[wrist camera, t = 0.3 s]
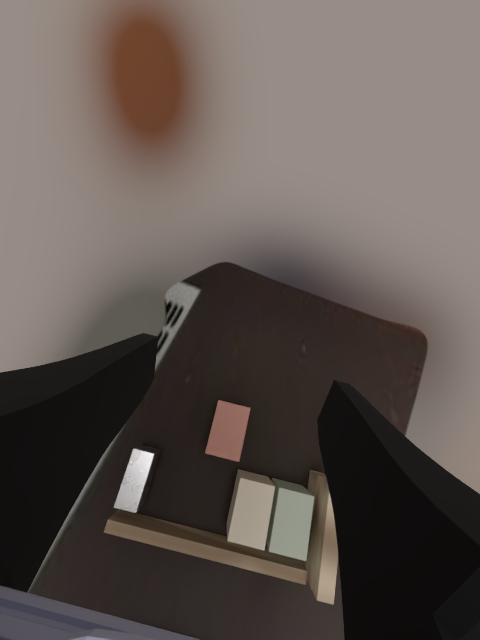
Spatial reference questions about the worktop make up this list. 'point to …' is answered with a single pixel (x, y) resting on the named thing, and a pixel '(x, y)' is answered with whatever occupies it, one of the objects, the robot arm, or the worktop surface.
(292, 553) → the pale green block
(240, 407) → the pink rectangular block
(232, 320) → the worktop surface
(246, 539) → the cream rectangular block
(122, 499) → the grey rectangular block
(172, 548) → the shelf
